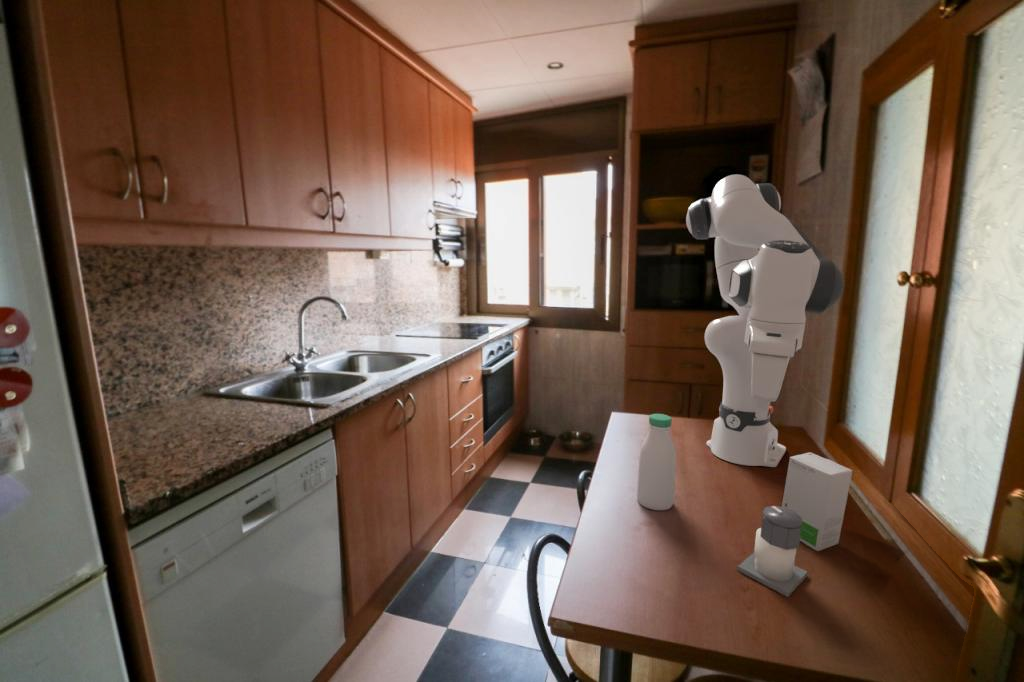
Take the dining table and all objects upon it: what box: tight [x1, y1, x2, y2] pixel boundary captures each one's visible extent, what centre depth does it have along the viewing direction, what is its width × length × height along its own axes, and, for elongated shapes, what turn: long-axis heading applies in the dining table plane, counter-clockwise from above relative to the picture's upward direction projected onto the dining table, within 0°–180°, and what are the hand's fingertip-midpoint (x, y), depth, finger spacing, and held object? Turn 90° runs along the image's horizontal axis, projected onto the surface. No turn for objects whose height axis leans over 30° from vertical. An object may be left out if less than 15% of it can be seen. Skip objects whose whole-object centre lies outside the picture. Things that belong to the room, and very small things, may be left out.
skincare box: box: [781, 451, 853, 552], centre depth 86 cm, size 8×7×16 cm
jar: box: [737, 527, 808, 598], centre depth 76 cm, size 8×8×10 cm
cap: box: [760, 505, 802, 550], centre depth 75 cm, size 6×6×5 cm
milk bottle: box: [636, 413, 677, 511], centre depth 98 cm, size 8×8×20 cm
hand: (762, 409), depth 82 cm, fingers open, 8 cm apart
